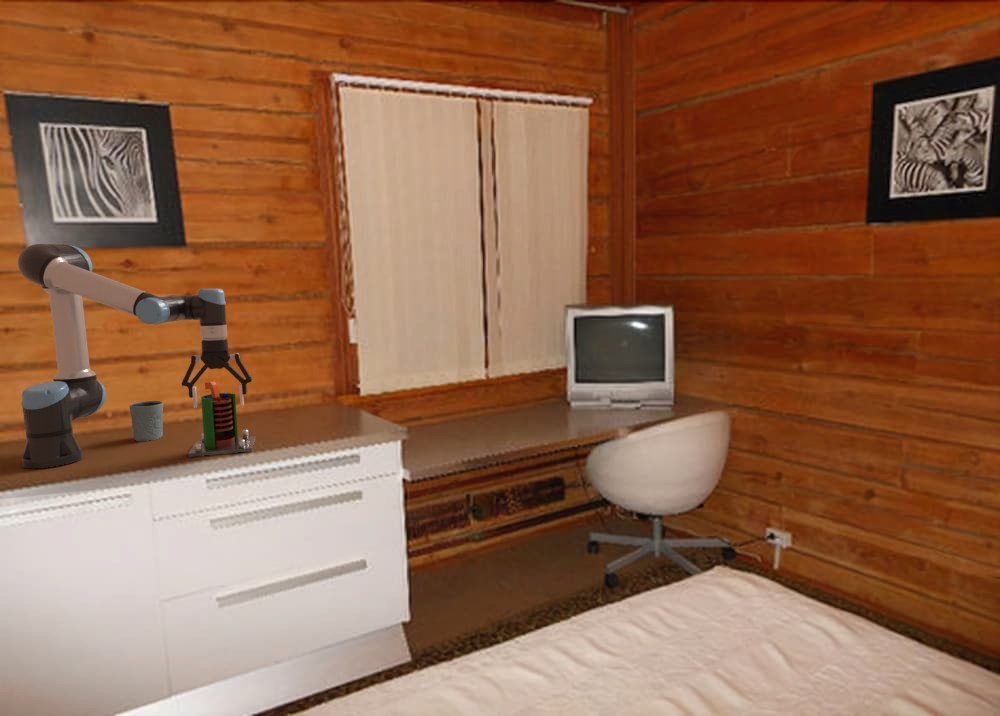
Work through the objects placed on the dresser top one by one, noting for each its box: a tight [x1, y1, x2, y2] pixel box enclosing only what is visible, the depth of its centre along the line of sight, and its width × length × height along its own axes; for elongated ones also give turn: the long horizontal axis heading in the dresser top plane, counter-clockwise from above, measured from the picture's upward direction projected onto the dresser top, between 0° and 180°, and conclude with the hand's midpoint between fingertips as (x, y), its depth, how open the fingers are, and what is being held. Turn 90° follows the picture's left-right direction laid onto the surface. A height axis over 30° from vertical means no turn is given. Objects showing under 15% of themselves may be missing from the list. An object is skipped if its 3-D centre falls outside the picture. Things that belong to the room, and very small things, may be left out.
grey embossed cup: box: [128, 400, 164, 442], centre depth 232 cm, size 10×10×12 cm
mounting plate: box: [187, 429, 256, 458], centre depth 216 cm, size 18×16×4 cm
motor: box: [200, 380, 239, 449], centre depth 215 cm, size 10×9×20 cm
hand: (219, 406), depth 215 cm, fingers open, 13 cm apart
